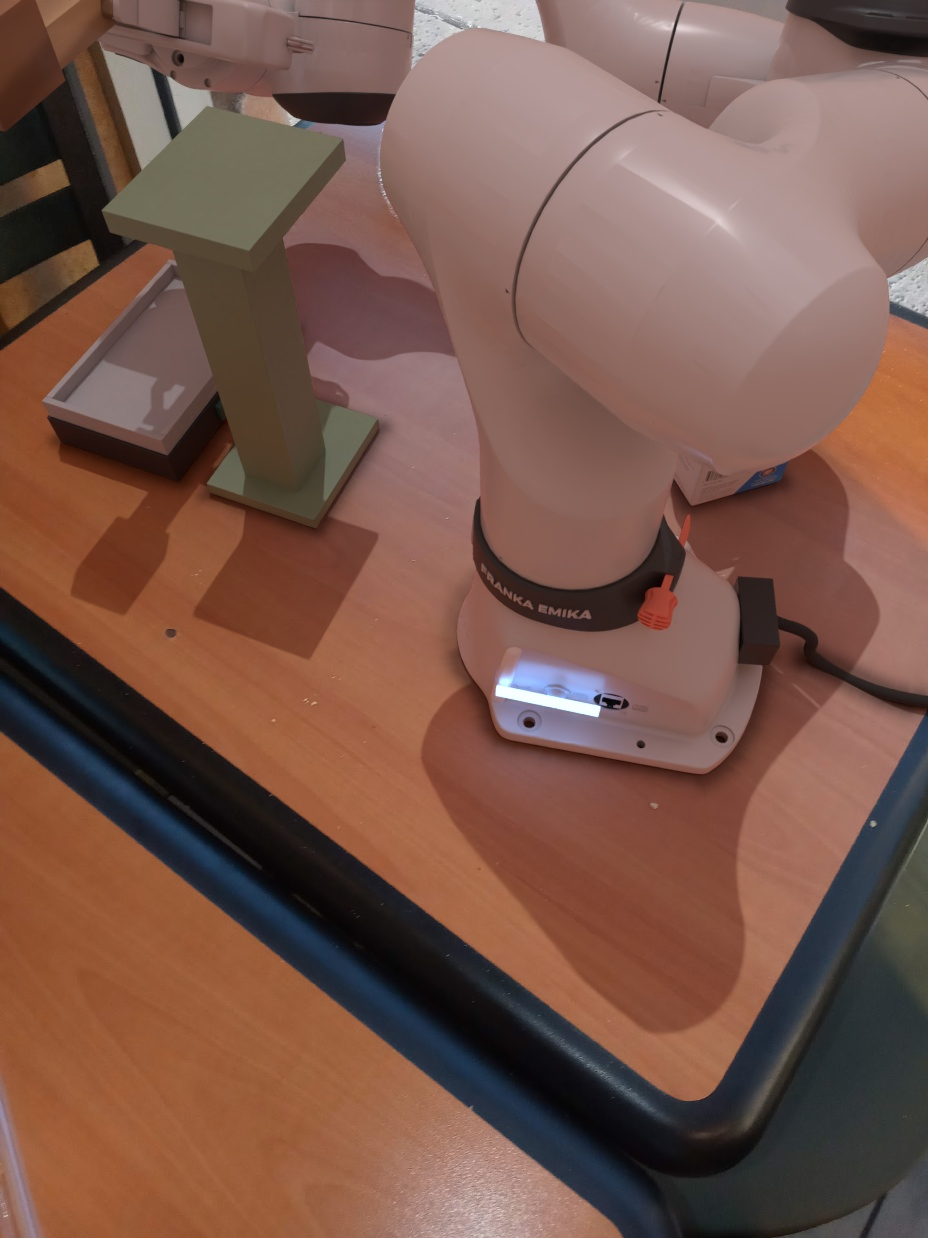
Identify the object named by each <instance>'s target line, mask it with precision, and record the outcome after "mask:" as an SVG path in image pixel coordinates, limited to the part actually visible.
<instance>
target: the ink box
mask: <svg viewBox="0 0 928 1238" xmlns="http://www.w3.org/2000/svg"><path fill="white" fill-rule="evenodd" d="M789 462H790V460H789V461H787V462H785V463H783V464H780V465H777V466H774V467H772V468H769V469H766V470H762V471H758V472H754V473H749V474H741V475H733V476H726V475H721V474H719V473H717V472H715V471H713V470H710V469H708V468H706V467H704V466H702V465H700V464H698V463H696V462H694V461H692V460H690V459H688V458H686V457H684V456H682V455H680V454H679V460H678V465H677V468H676V472H675V475H674V479H673V481H675V483H676V484H677V486H678V488H679V489H680V490H681V492H682V494H683V496H684V497H685V499H686V500H687V502H688V504H689V505H690V506H697V505H700V504H703V503H707V502H712V501H715V500H718V499H721V498H725V497H729V496H732V495H736V494H739V493H742V492H743V493H744V492H746V491H751V490H753V489H756V488H760V487H765V486H767V485H772V484H775V483H778V482H780V481H781V480H782V478H783V475H784V474H785V471H786V469H787V466H788V465H789Z"/></svg>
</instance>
